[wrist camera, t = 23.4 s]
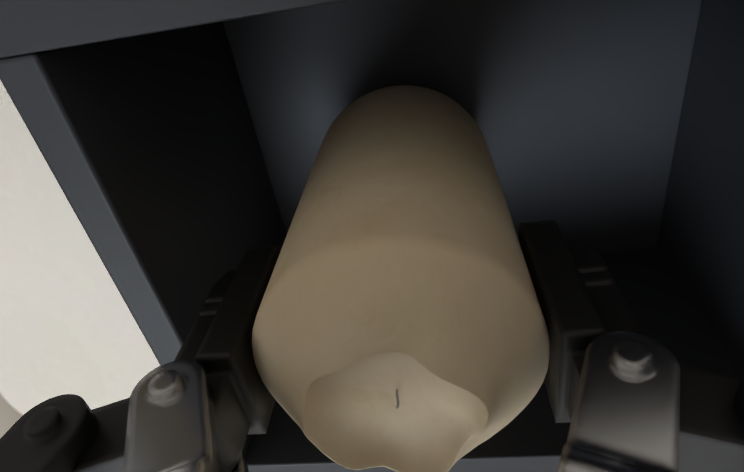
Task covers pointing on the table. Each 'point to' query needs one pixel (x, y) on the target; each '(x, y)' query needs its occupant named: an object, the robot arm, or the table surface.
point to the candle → (401, 292)
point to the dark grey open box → (372, 72)
